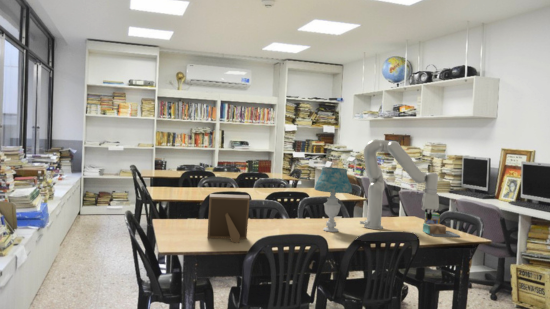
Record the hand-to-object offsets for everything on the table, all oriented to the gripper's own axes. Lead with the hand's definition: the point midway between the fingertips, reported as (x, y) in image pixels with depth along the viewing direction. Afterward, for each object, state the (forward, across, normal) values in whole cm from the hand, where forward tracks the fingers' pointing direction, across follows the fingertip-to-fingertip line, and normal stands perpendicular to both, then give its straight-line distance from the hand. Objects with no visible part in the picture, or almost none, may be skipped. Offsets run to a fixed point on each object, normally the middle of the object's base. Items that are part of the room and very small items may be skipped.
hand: (429, 219), depth 305 cm
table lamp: (+10, -65, 0) cm, 66 cm away
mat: (+10, +9, 0) cm, 13 cm away
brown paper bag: (+6, -2, 0) cm, 6 cm away
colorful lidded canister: (+10, +9, +15) cm, 20 cm away
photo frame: (+10, -131, -35) cm, 136 cm away
